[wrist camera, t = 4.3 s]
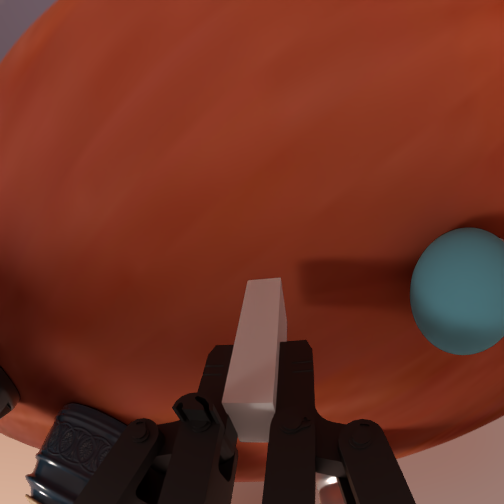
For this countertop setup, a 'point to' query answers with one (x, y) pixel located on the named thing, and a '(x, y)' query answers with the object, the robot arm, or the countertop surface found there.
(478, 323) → the ball
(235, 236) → the countertop surface
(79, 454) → the canister
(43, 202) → the countertop surface
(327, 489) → the plastic bottle
